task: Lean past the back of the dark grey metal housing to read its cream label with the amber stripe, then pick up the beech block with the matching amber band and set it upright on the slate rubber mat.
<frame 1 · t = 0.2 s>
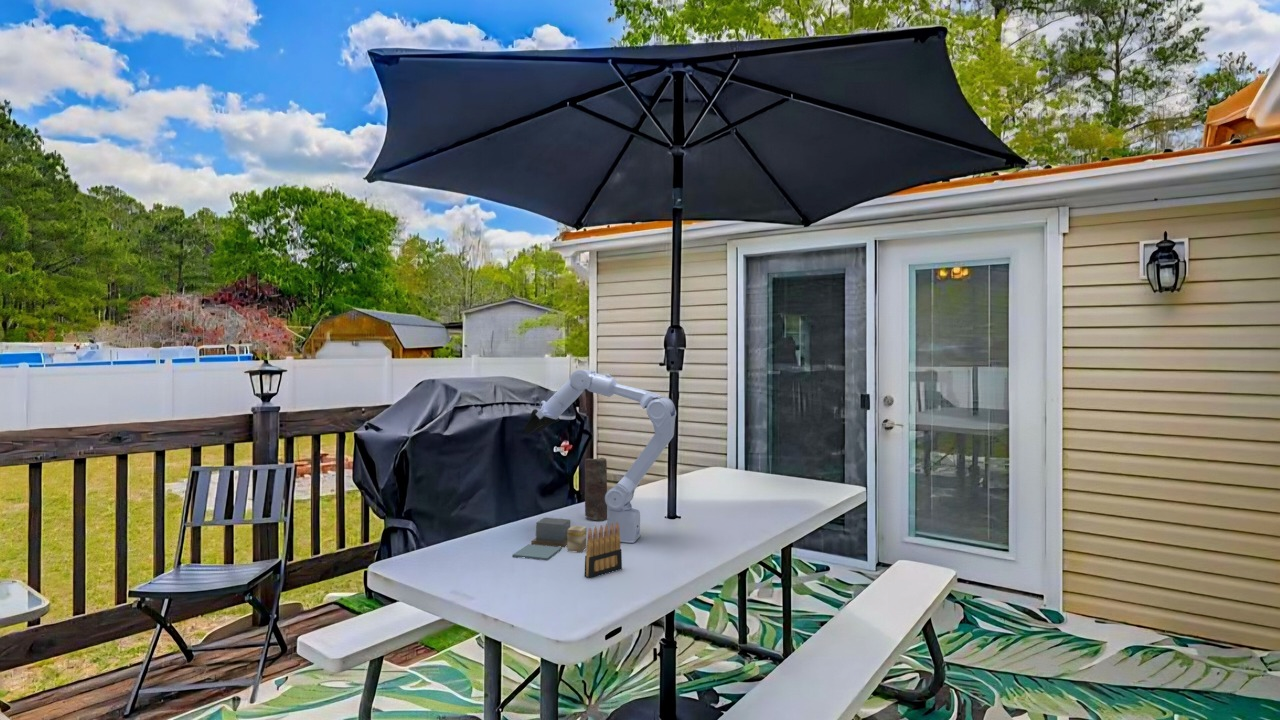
hand: (531, 430, 204), 30 cm above the table, tool tilted 45°, fingers open, 7 cm apart
ammunition clip: (603, 573, 167), on the table
candle: (595, 519, 220), on the table
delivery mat: (537, 553, 182), on the table
mounted unit: (553, 542, 193), on the table
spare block: (576, 549, 186), on the table
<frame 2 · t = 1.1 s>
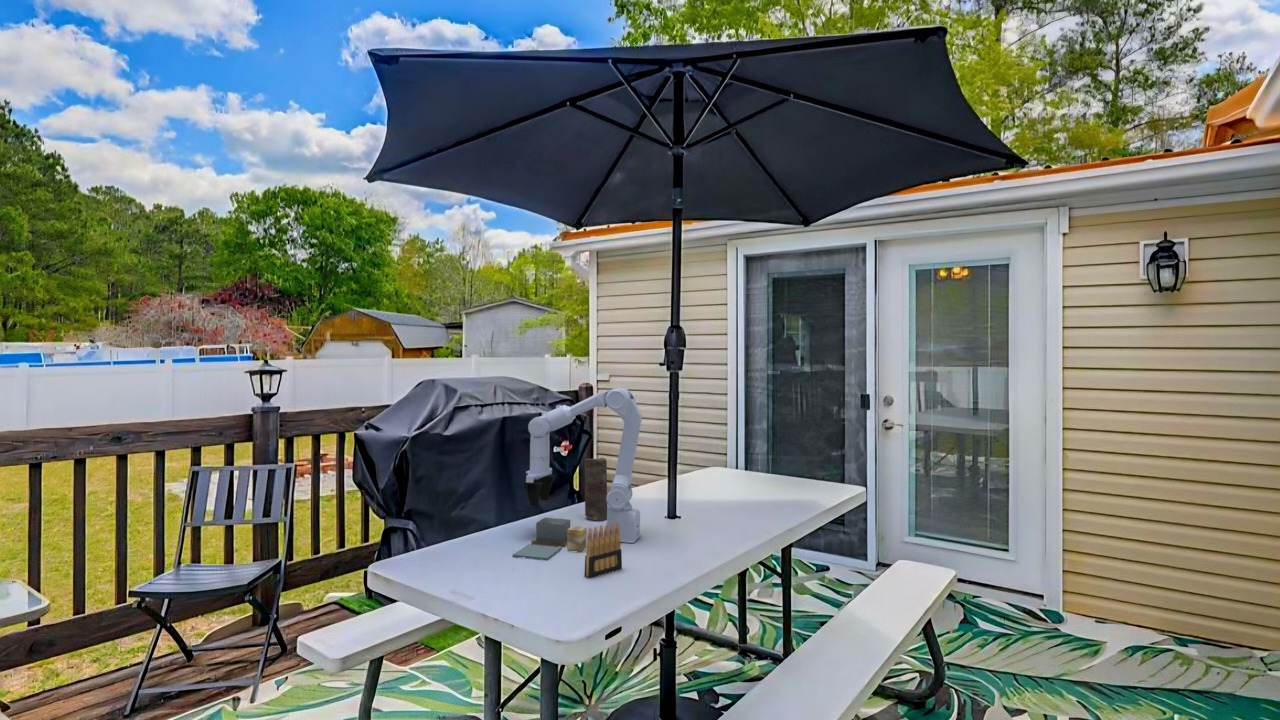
hand: (539, 502, 201), 10 cm above the table, tool pointing down, fingers open, 7 cm apart
nothing on the table moved.
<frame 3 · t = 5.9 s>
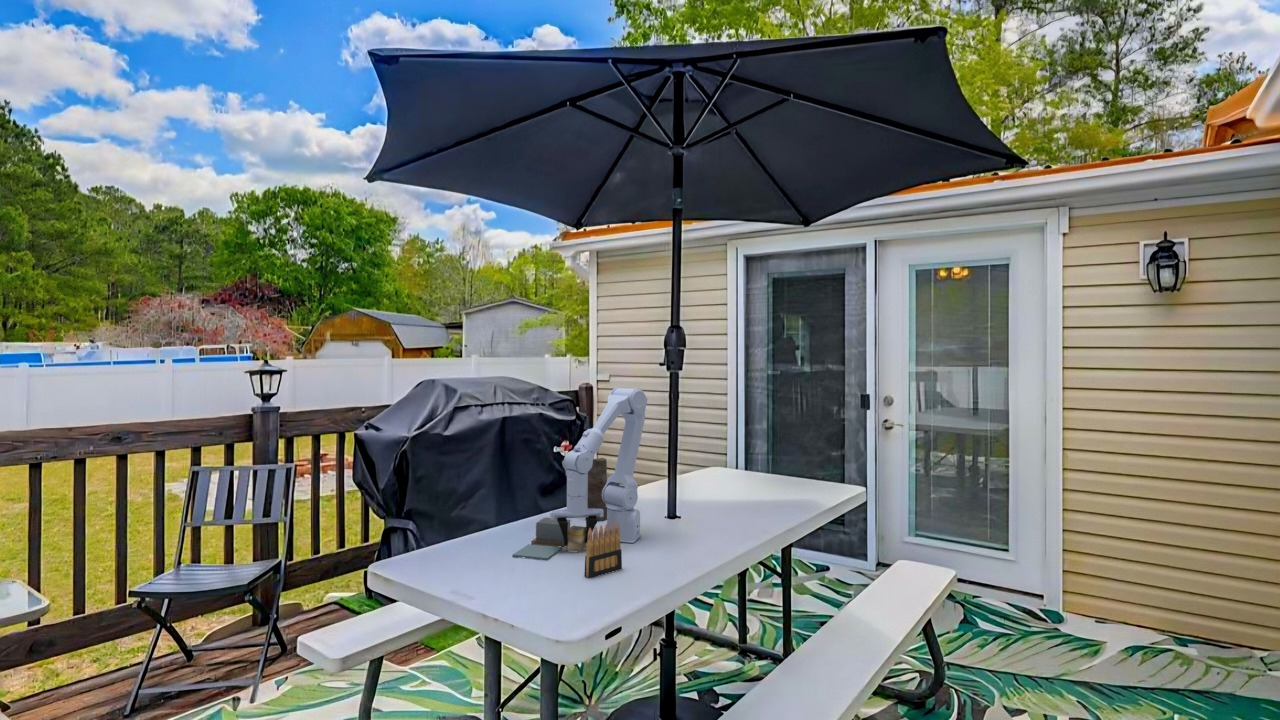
hand: (576, 543, 186), 2 cm above the table, tool pointing down, fingers closed on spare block, 5 cm apart
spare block: (576, 549, 186), on the table, touching gripper
everything else where it was.
when the fingers open (3 cm above the table, at t = 9.8 s): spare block stays where it is, resting on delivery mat.
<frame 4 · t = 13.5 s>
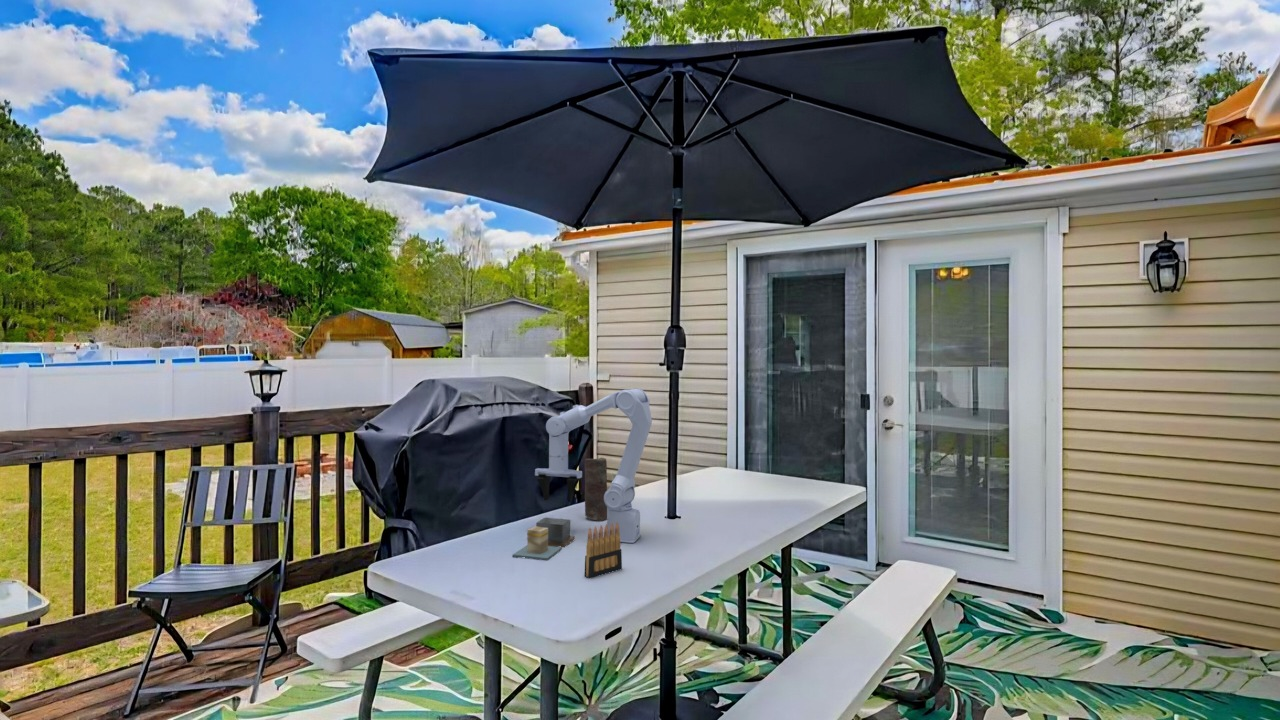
hand: (558, 500, 204), 9 cm above the table, tool pointing down, fingers open, 7 cm apart
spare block: (537, 551, 182), point 1 cm above the table, touching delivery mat
everything else where it was.
at the end: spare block inside the target area on the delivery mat (0.0 cm from its centre), point 0.6 cm above the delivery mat's base; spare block tilted 0°; the gripper is holding nothing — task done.
